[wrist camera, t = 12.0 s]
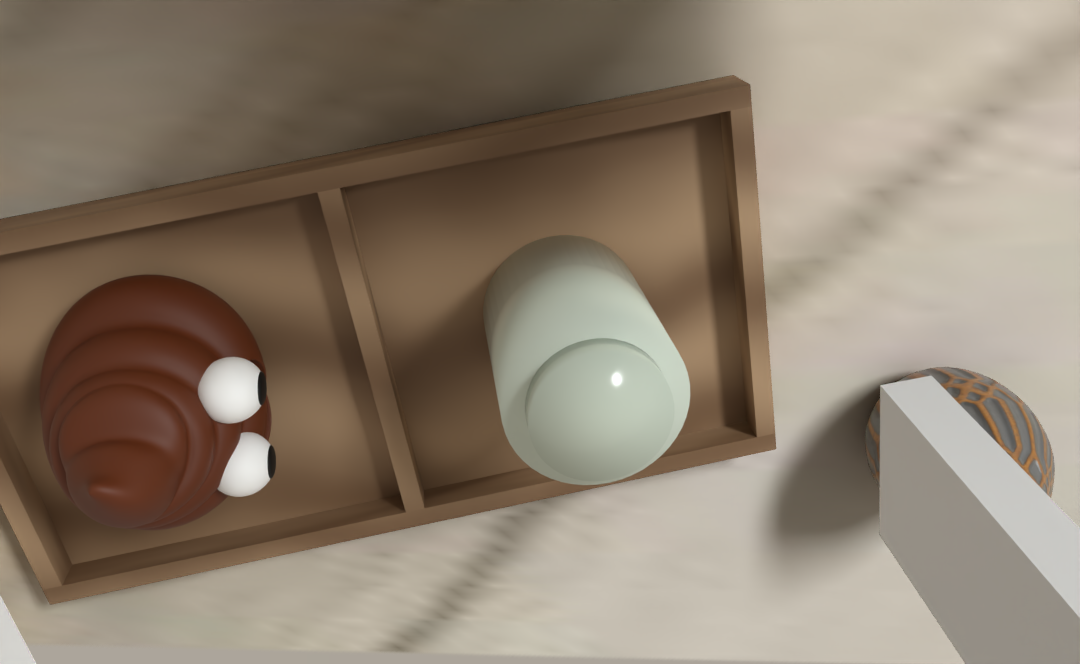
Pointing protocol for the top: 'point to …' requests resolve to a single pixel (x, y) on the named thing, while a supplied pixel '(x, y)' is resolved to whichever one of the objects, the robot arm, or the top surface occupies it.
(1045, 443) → the vase
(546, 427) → the jar
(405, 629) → the top surface
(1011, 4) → the top surface
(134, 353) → the poop emoji
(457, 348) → the divided wooden tray
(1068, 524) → the robot arm
